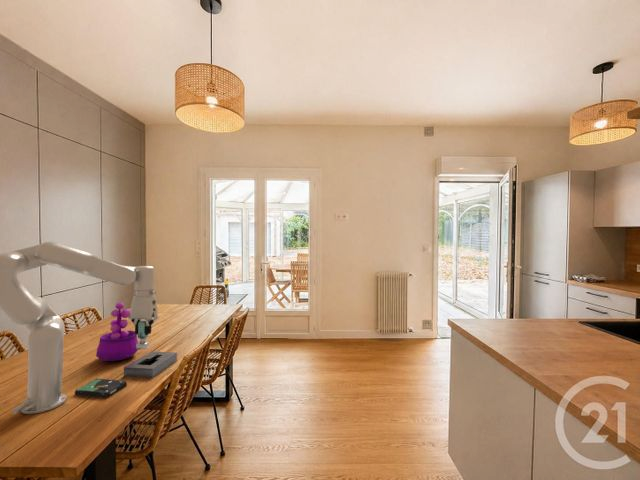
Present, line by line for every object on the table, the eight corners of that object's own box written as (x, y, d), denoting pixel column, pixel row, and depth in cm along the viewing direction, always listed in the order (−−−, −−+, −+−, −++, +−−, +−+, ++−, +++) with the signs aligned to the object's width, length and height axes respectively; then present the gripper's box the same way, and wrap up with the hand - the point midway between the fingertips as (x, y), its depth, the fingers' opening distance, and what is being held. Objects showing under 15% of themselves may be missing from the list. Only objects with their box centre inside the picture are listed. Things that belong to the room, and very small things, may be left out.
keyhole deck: (152, 378, 132) (152, 368, 133) (123, 376, 133) (123, 367, 133) (176, 360, 152) (177, 352, 152) (151, 359, 153) (151, 351, 153)
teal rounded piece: (144, 349, 127) (144, 323, 127) (133, 349, 127) (134, 322, 127) (151, 345, 132) (152, 320, 132) (141, 345, 132) (142, 319, 132)
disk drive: (127, 387, 125) (96, 384, 127) (127, 380, 125) (96, 377, 127) (107, 399, 115) (73, 396, 116) (107, 392, 115) (74, 389, 116)
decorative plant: (134, 349, 167) (136, 297, 167) (142, 358, 153) (144, 302, 154) (93, 357, 153) (95, 301, 154) (98, 369, 140) (100, 307, 141)
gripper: (166, 292, 133) (165, 332, 133) (133, 291, 134) (131, 330, 134) (156, 295, 125) (155, 337, 125) (120, 294, 127) (119, 335, 127)
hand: (143, 333), depth 130 cm, fingers closed on teal rounded piece, 4 cm apart
